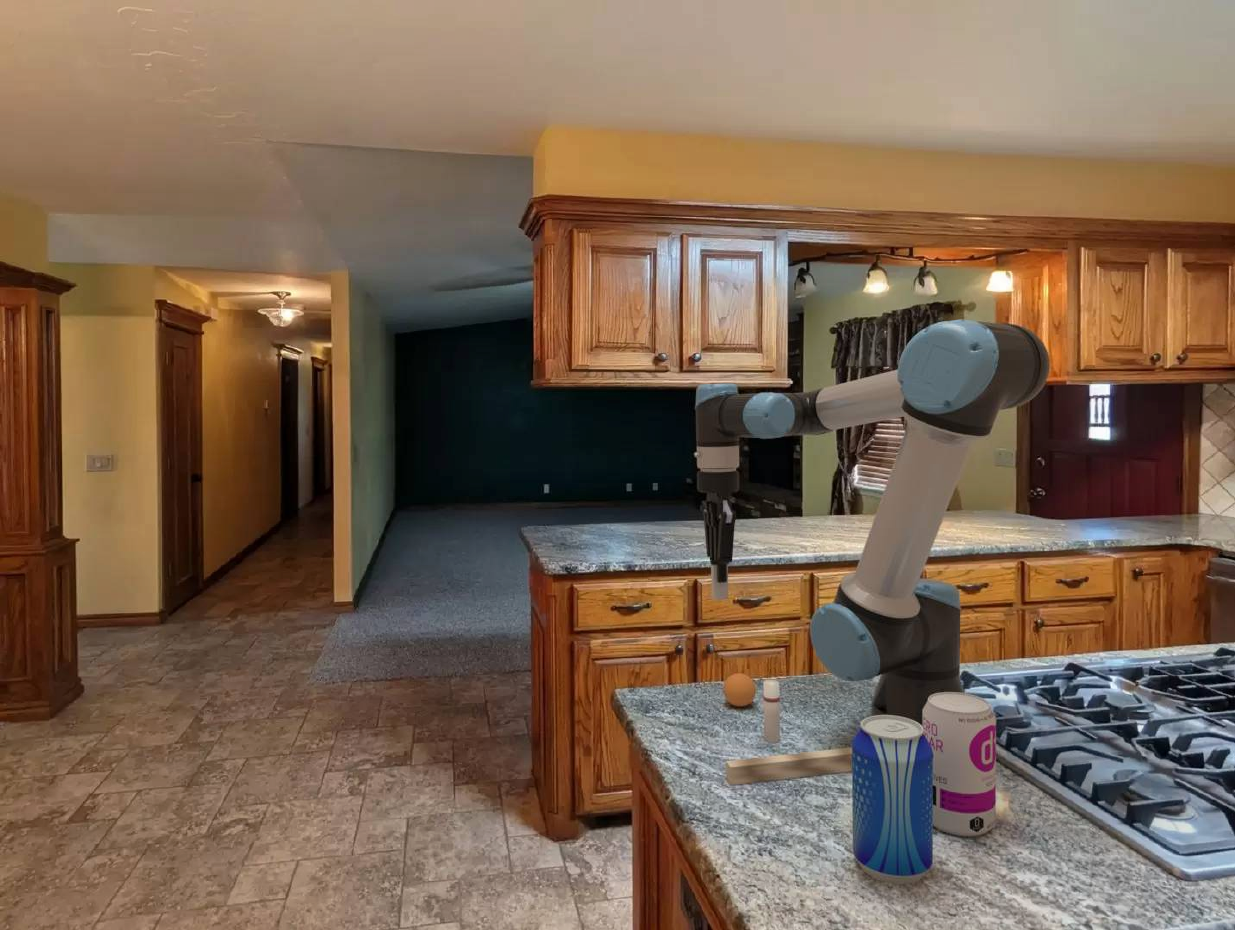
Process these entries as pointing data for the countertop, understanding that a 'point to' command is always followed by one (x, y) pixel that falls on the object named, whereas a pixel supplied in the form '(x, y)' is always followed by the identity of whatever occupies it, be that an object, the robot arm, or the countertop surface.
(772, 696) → the pin
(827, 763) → the bar
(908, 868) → the beer can
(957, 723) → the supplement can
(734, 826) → the countertop surface
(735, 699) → the ball
